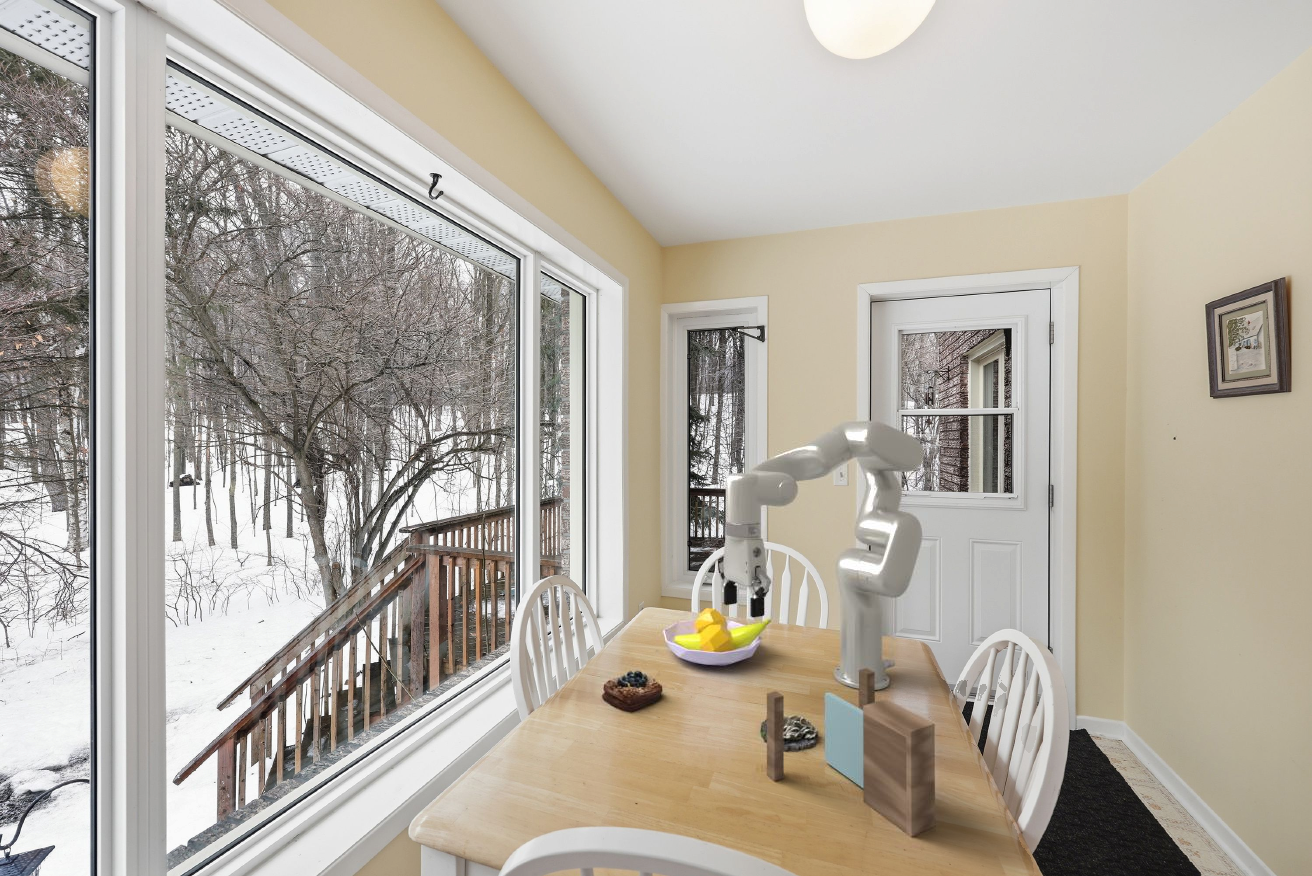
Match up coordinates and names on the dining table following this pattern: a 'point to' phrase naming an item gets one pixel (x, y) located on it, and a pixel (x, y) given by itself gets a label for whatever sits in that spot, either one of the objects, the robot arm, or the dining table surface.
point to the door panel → (844, 737)
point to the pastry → (632, 691)
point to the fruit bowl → (713, 639)
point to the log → (795, 734)
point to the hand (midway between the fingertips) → (743, 610)
